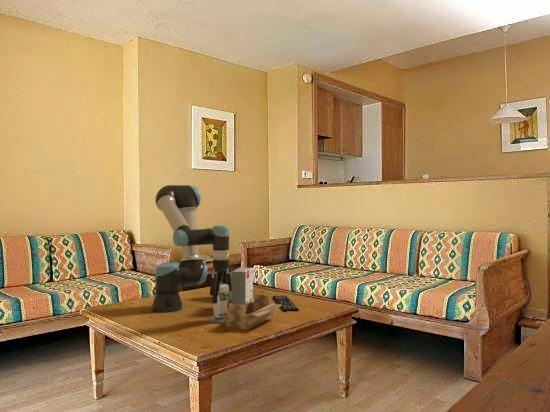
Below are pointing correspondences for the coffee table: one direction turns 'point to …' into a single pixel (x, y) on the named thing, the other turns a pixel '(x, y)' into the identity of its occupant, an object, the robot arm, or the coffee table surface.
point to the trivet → (216, 320)
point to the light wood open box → (250, 313)
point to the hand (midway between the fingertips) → (221, 307)
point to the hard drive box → (242, 286)
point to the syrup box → (223, 301)
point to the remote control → (285, 303)
